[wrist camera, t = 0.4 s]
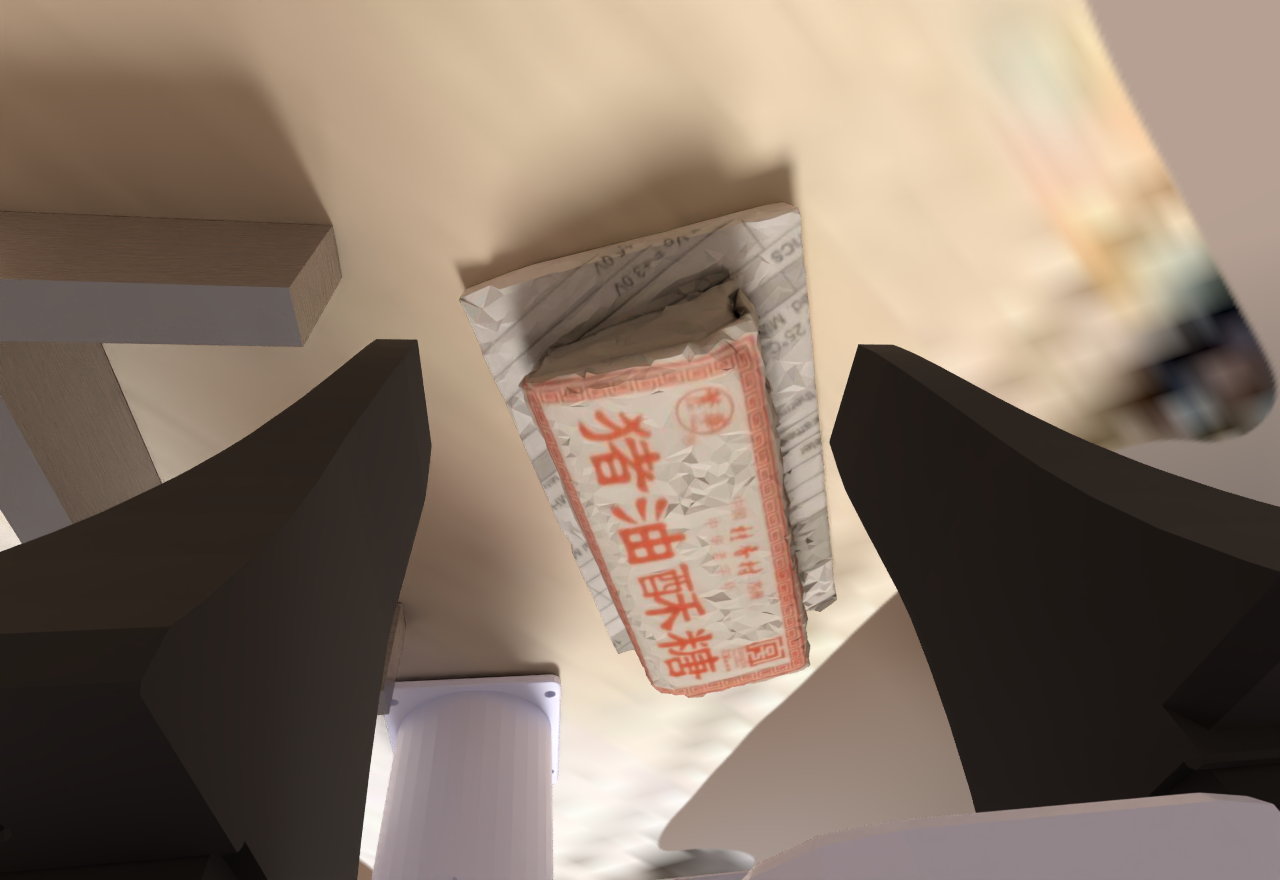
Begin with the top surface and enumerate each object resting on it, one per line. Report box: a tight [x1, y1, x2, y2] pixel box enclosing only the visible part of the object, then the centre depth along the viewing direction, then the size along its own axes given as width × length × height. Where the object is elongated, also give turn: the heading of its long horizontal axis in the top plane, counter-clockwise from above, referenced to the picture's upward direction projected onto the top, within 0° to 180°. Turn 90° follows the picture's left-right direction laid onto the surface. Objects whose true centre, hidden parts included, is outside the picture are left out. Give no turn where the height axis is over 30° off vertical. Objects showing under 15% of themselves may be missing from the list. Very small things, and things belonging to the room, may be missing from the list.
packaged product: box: [459, 202, 837, 698], centre depth 24 cm, size 18×5×10 cm
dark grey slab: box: [0, 211, 406, 715], centre depth 21 cm, size 17×8×4 cm, turn 175°
